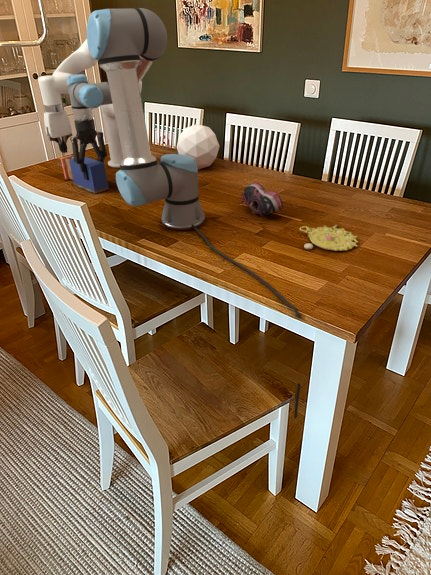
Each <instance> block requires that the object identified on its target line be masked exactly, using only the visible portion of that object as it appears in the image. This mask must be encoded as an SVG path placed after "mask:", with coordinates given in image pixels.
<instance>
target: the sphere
mask: <svg viewBox="0 0 431 575" xmlns="http://www.w3.org/2000/svg"><path fill="white" fill-rule="evenodd" d="M220 147H221V146H220V144H219V141H218V139H217V136H216V133H215V132H214V131H213V130H212V128H210V127H209V126H206V125H202V124H198V123H197V124H196V123H195V124H194V125H190V126H187V127H185V128H184V129H183V131H182V132H181V133H180V134H179V135H178V139H177V143H176V148H175V149H176V150H177V154H180V155H186V156H190V157H192V158H194V159H195V160H196V163H197V170H201V169H204V168H207V167H210V166H211V165H213V162H215V160H216V159H217V157H218V153H219V150H220Z"/></svg>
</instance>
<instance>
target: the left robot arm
mask: <svg viewBox="0 0 431 575" xmlns="http://www.w3.org/2000/svg"><path fill="white" fill-rule="evenodd" d="M97 63H99V60H96V59H94V58H92V56H91V54H90V51H89V49H88V43H87V38H86V39H85V40H84V41H83V43H82V44H81V45H80V46H79V48H77V49H76V50H75V51H74V52H72V53H71V54H70V55H69V56H67V57H66V58H65V59H63V61H62V62H60V63H59V65H58V66H57V67H56V69H55V70H54V71H53V73H52V75H42V76H39V77H38V79H37V83H38V86H39V91H40V95H41V99H42V105H43V108H44V110H45V111H44V112H43V124H44V130H45V134H46V136H47V137H48V141H50V142H55V143H56V144H58V149H59V151H60V153H62V154H67V153H68V145H67V143H68V140H69V139H70V138H71V137H73V129H72V125H71V121H70V118H69V115H68V113H67V111H66V109H65V108H66V107H67V105H66V103H65V102H63V98H62V94H69V91H68V87H67V77H68V76H70V75H78V74H80V73H81V72H83V71H85V70H88V69H90V68H92V67H94V66H95V65H97ZM139 89H140V94H141V93H142V91H143V90H142V89H143V82H142V80H141V81H140V83H139ZM141 95H142V94H141ZM99 107H100V111H101V114H102V117H103V120H104V127H105V132H106V139H107V146H108V152H109V157H110V160H108V161H107V165H108V167H111V168H120V162H121V161H122V159H123V154H122V149H121V144H120V139H119V134H118V129H117V123H116V118H115V113H114V108H113V104H107V105H100V106H99Z"/></svg>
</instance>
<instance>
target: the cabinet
mask: <svg viewBox="0 0 431 575" xmlns="http://www.w3.org/2000/svg"><path fill="white" fill-rule="evenodd" d="M69 163H70V167H71V172H72V176H73V180H72V181H73V185H74V186H75V187H77V188H80V189H83V190H85V191H88V192H90V193H92V194H98V193H101V192H105V191H108V190H109V189H110V188H109V182H108V177H107V172H106V167H105V162H104V163H103V162H100V161H97V159H93V158H90V157H87V156H85V160H84V163H85V164H86V166H87V171H88V177H89V180H86V179H84V176H83V172H81V170H80V165H79V164H77V163H75V162H74V158H72V159H69Z"/></svg>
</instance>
